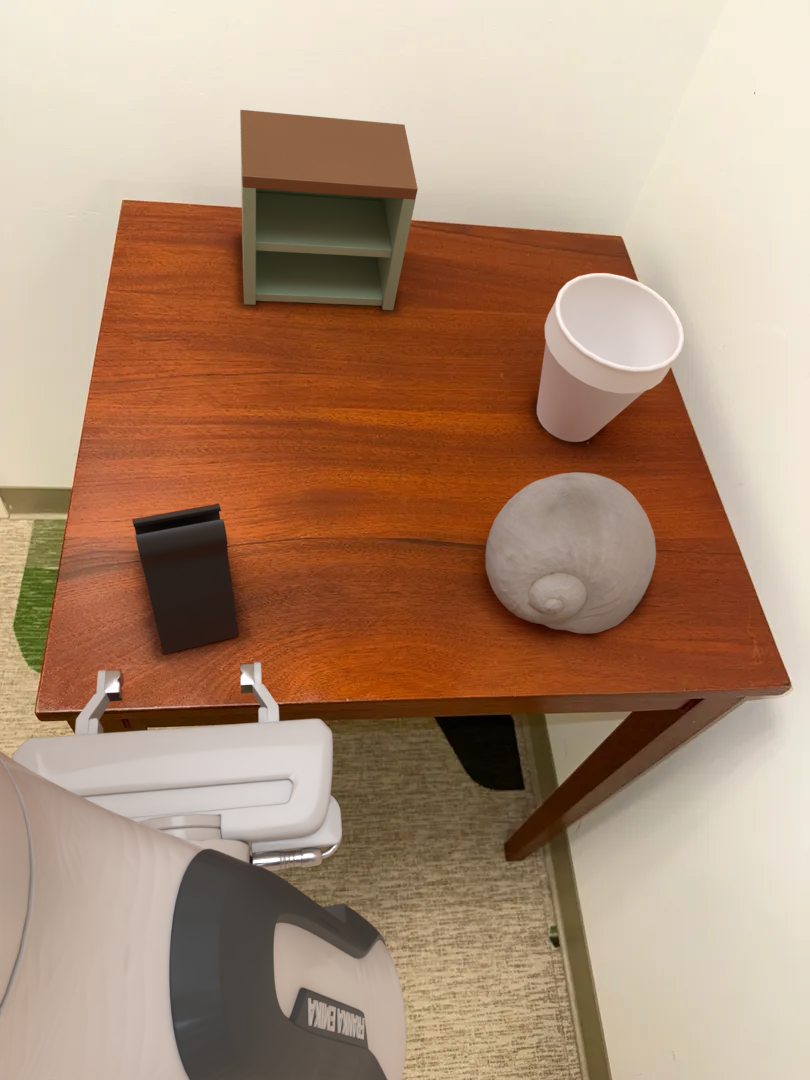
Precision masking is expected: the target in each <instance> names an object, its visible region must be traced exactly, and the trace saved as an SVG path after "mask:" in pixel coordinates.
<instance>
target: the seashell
mask: <svg viewBox="0 0 810 1080" xmlns="http://www.w3.org/2000/svg"><path fill="white" fill-rule="evenodd" d="M656 546H657V545H656V538H655V534H654V529H653V527H652V524H651V522H650V519H649V517H648V514H647V513H646V512H645V510H644V508H643V507H642V505H641V503H639V501H638V500H637V498H636V497H635V495H633V493H632V492H631V491H630V490H628V489H627V488H625V487H624V486H623V485H622V484H620V483H618V482H617V481H616V480H613V479H611V478H609V477H607V476H603V475H600V474H596V473H591V472H580V471H578V472H577V471H576V472H575V471H573V472H565V473H564V472H563V473H559V474H554V475H550V476H547V477H544V478H541V479H538V480H535V481H533V482H531V483H529V484H527V485H526V486H525V487H523V488H521V489H520V490H519V491H518V492H516V493H515V494H514V495H513V496H512V497H511V498H510V499H508V501H507V502H506V503H505V504H504V505H503V507H502V508H501V510H500V511H499V512H498V514H497V515H496V517H495V518H494V521H493V523H492V525H491V528H490V529H489V534H488V536H487V539H486V546H485V571H486V574H487V578H488V581H489V584H490V586H491V589H492V591H493V593H494V594H495V596H496V597H497V599H498V600H499V602H500V603H501V604H502V605H503V606H504V607H505V608H506V609H507V610H508V612H511V613H512V614H513V615H515V616H516V617H517V618H519V619H522V620H524V621H526V622H529V623H532V624H537V625H538V624H539V625H543V626H546V627H547V628H548V629H552V630H555V631H557V630H558V631H568V632H572V633H576V634H599V633H601V632H603V631H606V630H609V629H612V628H616V627H617V626H618V625H619V624H621V623H622V622H623V621H624V620H626V619H627V618H628V617H629V616H630V615H631V613H633V611H634V610H635V608H636V607H637V606H638V605H639V603H640V602H641V600H642V599H643V597H644V595H645V593H646V591H647V590H648V586H649V585H650V582H651V580H652V577H653V573H654V569H655V566H656V559H657V548H656Z"/></svg>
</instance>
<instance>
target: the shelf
mask: <svg viewBox="0 0 810 1080" xmlns="http://www.w3.org/2000/svg"><path fill="white" fill-rule="evenodd" d="M239 118H240V121H239V123H240V126H239V127H240V181H241V182H240V183H241V184H240V187H241V189H240V190H241V191H240V192H241V242H242V243H241V247H242V276H243V277H242V279H243V284H242V285H243V304H244V305H250V306H251V305H254V306H255V305H257V302H277V303H278V302H279V303H303V304H325V305H326V304H327V305H352V306H353V305H354V306H375V307H381V309H382V311H394V307H395V302H396V298H397V292H398V287H399V283H400V279H401V272H402V269H403V263H404V258H405V253H406V249H407V243H408V240H409V239H408V238H409V234H410V230H411V226H412V225H411V224H412V220H413V215H414V211H415V210H414V209H415V204H416V199H417V194H418V190H419V188H418V183H417V179H416V174H415V170H414V164H413V160H412V156H411V155H412V154H411V150H410V149H411V148H410V145H409V144H410V143H409V140H408V135H407V129H406V124H401V123H390V122H381V121H372V120H371V121H369V120H359V119H349V118H348V119H347V118H338V117H337V118H336V117H325V116H317V115H316V116H315V115H304V114H293V113H283V112H273V111H272V112H271V111H262V110H261V111H260V110H250V109H240V111H239Z"/></svg>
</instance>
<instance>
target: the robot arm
mask: <svg viewBox="0 0 810 1080" xmlns="http://www.w3.org/2000/svg"><path fill="white" fill-rule="evenodd" d="M239 668H240V669H239V670H240V671H239V674H240V675H239V677H240V694H252V696H253V697H254V699H255V700H256V702H257V703H258V705H259V708H258V713H257V722H247V723H246V722H245V723H233V724H217V725H216V724H215V725H204V726H190V727H175V728H174V727H173V728H159V729H145V730H132V731H131V730H130V731H115V732H104V727H103V726H102V724H101V722H100V719H102V717H103V715H104V714H105V711H106V710H107V709H108V707H109V705H110V704H111V702H123V700H124V690H123V687H124V685H125V682H124V681H125V676H124V673H123V670H122V668H121V669H100V670H98V671H97V676H96V677H97V678H96V690H95V691H96V692H95V693H94V694H93V695H92V696H91V698H90V699H89V701H88V702H87V703H86V705H85V706H84V707H83V709H82V710H81V712H79V714H78V716H77V717H76V718H75V725H74V734H71V735H59V736H43V737H30V738H26V739H25V740H24V741H23V742H22V743H21V744H20V745H19V747H18V748H16V750H15V751H14V752H13V754H12V755H11V757H10V756H8V755H7V754H6V753H4V752H2V751H1V750H0V1080H402V1079H403V1076H404V1072H405V1065H406V1058H407V1039H408V1038H407V1037H408V1035H407V1034H408V1033H407V1019H406V1018H407V1017H406V1007H405V1000H404V994H403V990H402V984H401V979H400V977H399V974H398V969H397V967H396V964H395V961H394V960H393V957H392V955H391V953H390V951H389V950H388V947H387V944H386V940H385V938H384V935H382V933H380V931H379V930H378V929H377V928H376V927H375V926H374V925H373V924H372V923H371V922H369V921H368V920H367V919H366V918H365V917H364V916H362V915H361V914H360V913H358V912H357V911H355V910H354V909H353V908H351V907H350V906H348V905H347V904H345V903H337V904H331V905H327V906H322V905H320V904H319V903H318V902H316V901H315V900H314V899H312V898H311V897H309V896H308V895H307V894H305V893H304V892H302V891H301V890H300V889H298V888H297V887H296V886H294V885H293V884H291V883H290V882H289V881H287V880H286V879H284V878H283V877H281V876H280V875H278V874H276V873H275V872H276V871H280V870H284V869H289V868H297V867H301V868H311V867H316V866H320V865H321V864H322V863H323V860H324V859H326V858H328V857H330V856H332V855H333V854H334V853H335V852H336V851H337V850H338V849H339V847H340V845H341V843H342V841H343V836H344V826H343V825H344V824H343V812H342V808H341V804H340V802H339V800H338V799H337V798H336V797H335V796H334V795H333V794H332V785H333V784H332V783H333V771H334V769H333V768H334V737H333V731H332V729H331V728H330V727H329V726H328V725H327V724H326V722H324V721H323V720H322V719H320V718H304V719H291V720H280V706H279V705H278V703H277V702H276V700H275V699H274V697H273V696H272V695H271V693H270V691H269V690H268V688H267V687H266V686H265V684H264V683H263V681H262V679H263V678H262V677H263V675H262V662H261V661H254V662H253V661H252V662H240V663H239ZM321 848H328V849H326V850H324V851H322V849H321ZM274 871H275V872H274Z"/></svg>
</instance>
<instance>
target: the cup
mask: <svg viewBox="0 0 810 1080" xmlns="http://www.w3.org/2000/svg"><path fill="white" fill-rule="evenodd" d="M681 322H682V321H681V320H680V318H679V316H678V314H677V312H676V311H675V310H674V308H673V307H672V306H671V305H670V303H669V302H668V301H667V300H666V299H665V298H664V297H662V296H661V295H660V294H659V293H658V292H656V291H655V290H653V289H652V288H650V287H648V286H646V285H645V284H643V283H641V282H640V281H638V280H635V279H631V278H630V277H627V276H624V275H618V274H613V273H608V272H607V273H606V272H601V273H599V272H593V273H587V274H583V275H579V276H577V277H574V278H573V279H571V280H569V281H567V282H566V283H565V284H564V285H563V286H562V287H561V288H560V290H559V291H558V292H557V296H556V298H555V301H554V303H553V305H552V307H551V308H550V311H549V312H548V314H547V317H546V319H545V323H544V339H545V344H544V352H543V359H542V366H541V374H540V379H539V388H538V395H537V402H536V415H537V418H538V422H539V423H540V425H541V426H542V427H543V429H545V430H546V431H547V432H548V433H549V434H550V435H552V436H554V437H555V438H557V439H559V440H562V441H565V442H570V443H571V442H572V443H579V442H581V443H582V442H584V441H588V440H590V439H591V438H592V437H594V436H595V435H596V434H597V433H598V432H600V430H602V429H603V428H604V427H606V425H608V423H610V422H611V421H612V420H614V419H615V418H616V417H617V416H618V415H619V414H620V413H621V412H622V411H624V410H625V409H626V408H627V407H628V406H629V405H631V404H632V403H633V402H634V401H635V400H636V399H638V398H639V397H640V396H642V395H643V394H644V393H645V392H646V391H648V390H651V389H653V388H654V387H656V386H657V385H659V384H660V383H662V382H663V380H664V378H665V377H666V376H667V374H668V372H670V369H671V367H672V366H673V364H674V362H675V361H676V360H677V359H678V358H679V355H680V354H681V353H682V351H683V347H684V341H685V333H684V328H683V324H682V323H681Z"/></svg>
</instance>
